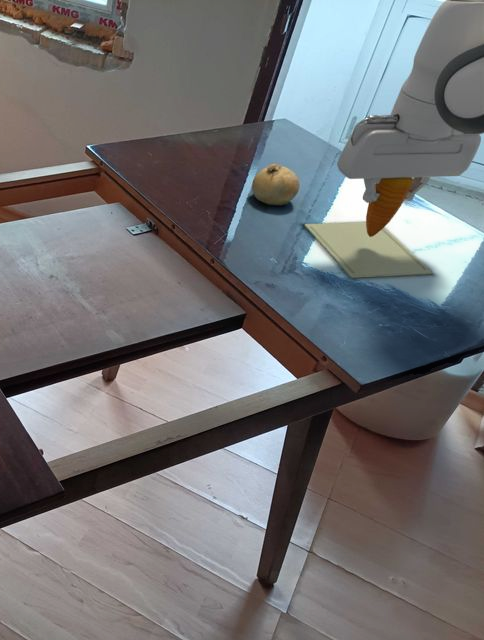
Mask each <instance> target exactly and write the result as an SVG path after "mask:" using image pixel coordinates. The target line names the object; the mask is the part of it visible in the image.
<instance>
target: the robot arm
mask: <svg viewBox="0 0 484 640" xmlns="http://www.w3.org/2000/svg"><path fill="white" fill-rule="evenodd" d="M401 85H402V86H401V88H400V90H399V93H398V95H397V98H396V100H395V103H394V104H393V107H392V109H391V112H390V114H382V115H378V114H371V115H368V116H367V117H366V118H363V119H362V120H360V121H359V122H357V123H356V124H355V126H354V128H353V130H352V133H351V135H350V136H349V137H348V139H347V141H346V143H345V145H344V147H343V149H342V151H341V153H340V155H339V158H338V160H337V163H336V166H337V169H338V171H339V172H340V173H341V174H342V175H344V177H346V178H347V179H349V180H362V179H363V183H364V189H365V190H364V192H363V195H362V201H364V202H365V203H366V204H369V203H375V202H377V200H378V199H377V198H379V196H380V193H379V192H378V191H377V190H376V187H375V184H379V182H380V180H381V178H408V177H412V179H413V183H412V186H411V188H410V190H409V192H408V194H407V196H406V197H405V199H404V201H403V203H404V202H412V201H413V200H414V197H415V195H416V193H418V192H419V191H420V190H421V189H422V188H424V187H425V186H426V185H427V184H428V183H429V181H430V179H431V178H441V177H446V178H447V177H459V176H461V175H462V174H464V173H465V172H466V171H468V169H469V167H470V166H471V164H472V162H473V161H474V158H475V156H476V155H477V152H478V150H479V147H480V145H481V141H482V136H481V135H482V134H484V0H444V1H443V2H442V3H441V5H440V6H439V7H438V8H437V10H436V12H435V13H434V15H433V16H432V18H431V20H430V22H429V24H428V26H427V28H426V30H425V32H424V34H423V36H422V38H421V40H420V42H419V45H418V47H417V49H416V52H415V54H414V57H413V64H412V68H411V71H410V74H409V75H408V77H406V79H405V80H404V82H403V84H401Z"/></svg>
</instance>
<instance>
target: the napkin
mask: <svg viewBox="0 0 484 640" xmlns="http://www.w3.org/2000/svg"><path fill="white" fill-rule="evenodd" d="M304 227H305V228H306V230H307V231H309V233H310V234H311V235H312V236H313V237H314V238H315V239H316V241H318V243H319V244H320V245H321V246H322V247H323V248H324V249H325V250H326V251H327V252H328V253H329V255H330V256H331V257H332V258H333V260H335V261H336V263H338V264H339V266H340V267H341V268H342V269H343V270H344V271H345V273H347V275H348V276H349V277H350V278H351V279H358V278H373V277H374V278H377V277H378V278H379V277H396V276H415V275H416V276H419V275H432V274H433V271H431V269H430V268H428V267H427V266H426V264H424V263H423V262H422V261H421V260H420V259H419V258H417V256H416V255H414V253H412V252H411V251H410V250H409V248H407V247H406V246H405V245H404V244H403V243H401V242H400V241H399V240H398V238H397V237H395V236H394V235H393V234H391V232H390V231H389V230H387V228H386V227H384V228H383V229H382V230H381V231H379V232H378V233H377V234H376V235H374V236H372V237H369V235H368V234H367V228H366V221H351V222H350V221H349V222H348V221H347V222H326V223H325V222H322V223H304Z"/></svg>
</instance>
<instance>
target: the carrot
mask: <svg viewBox="0 0 484 640" xmlns="http://www.w3.org/2000/svg"><path fill="white" fill-rule="evenodd" d="M413 179H414V178H413V177H408V178H381V180H380V182H379V184H376V183H375V187H376V190H377V191H378V192H379V193H380V196H379V198H377V199H378V200H377V202H375V203H367V204H368V205H367V210H366V216H365V222H366V228H367V234H368V235H369V237H372V236H374V235H376V234H377V233H378V232H379V231H381V230H382V229H383V228H386V226H387V225H388V224H389V223H390V222H391V221H392V220H393V218H394V217H395V216H396V214H397V213H398V211H399V210H400V208H401V207H402V205H403V203H404V202H403V201H404V199H405V197H406V196H407V194H408V192H409V190H410V188H411V186H412V183H413Z"/></svg>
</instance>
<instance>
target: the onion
mask: <svg viewBox="0 0 484 640" xmlns="http://www.w3.org/2000/svg"><path fill="white" fill-rule="evenodd" d="M300 186H301V185H300V180H299V178H298V176H297V174H296V173H295V172H294V171H293V170H292V169H289V168H288V167H286V166H283V165H280V164H278V163H276V162H274V163H273V164H269V165H268V166H265V167H264V168H262V169H261V170H260V171H258V173H257V174H256V175H255V176H254V177H253V180H252V183H251V189H252V193H253V195H254V197H255V198H256V200H258V201H259V202H261V203H264V204H266V205H270V206H271V205H272V206H273V205H274V206H286V205H288V204H289V203H290V202H291V201H292V200H294V198H295V197H296V196H297V194H298V193H299V190H300Z"/></svg>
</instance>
